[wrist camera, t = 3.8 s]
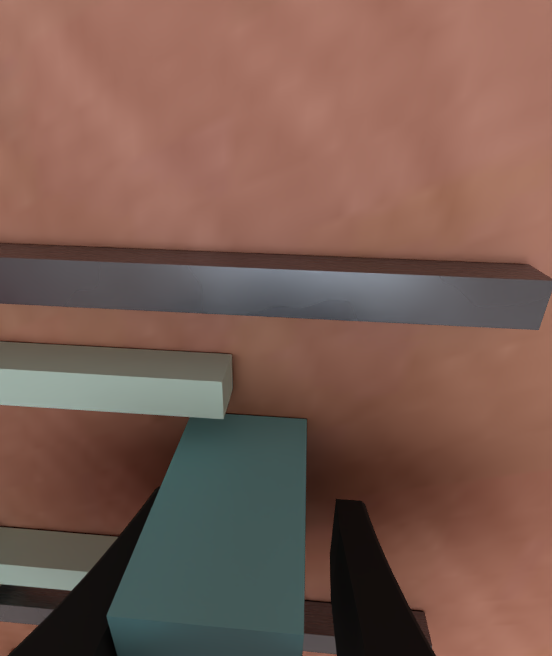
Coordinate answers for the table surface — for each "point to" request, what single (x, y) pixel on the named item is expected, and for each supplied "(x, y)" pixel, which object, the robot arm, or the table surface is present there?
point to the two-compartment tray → (179, 506)
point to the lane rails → (271, 301)
